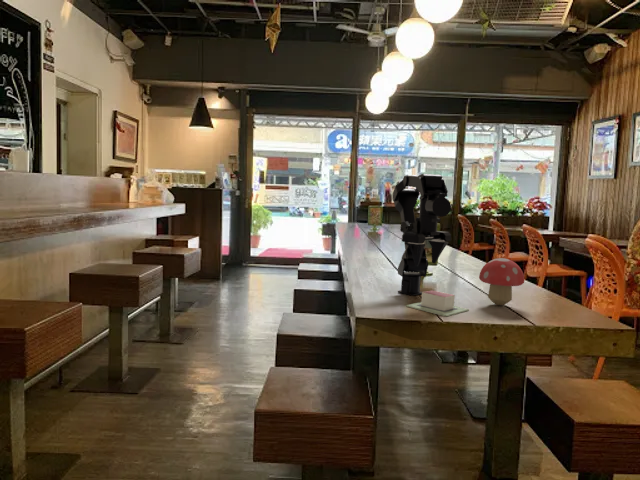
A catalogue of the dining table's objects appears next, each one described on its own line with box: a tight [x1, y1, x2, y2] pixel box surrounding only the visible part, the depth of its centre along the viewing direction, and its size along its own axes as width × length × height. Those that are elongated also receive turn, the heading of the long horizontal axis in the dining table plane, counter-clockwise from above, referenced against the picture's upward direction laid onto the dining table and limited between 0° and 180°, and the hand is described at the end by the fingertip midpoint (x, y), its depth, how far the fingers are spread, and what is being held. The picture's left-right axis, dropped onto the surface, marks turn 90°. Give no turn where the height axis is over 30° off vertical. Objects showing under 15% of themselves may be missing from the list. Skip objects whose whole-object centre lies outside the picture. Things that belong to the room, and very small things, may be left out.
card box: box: [420, 289, 456, 311], centre depth 149 cm, size 8×5×4 cm, turn 44°
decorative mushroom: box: [478, 257, 525, 306], centre depth 157 cm, size 13×13×15 cm
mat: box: [406, 301, 470, 317], centre depth 149 cm, size 12×14×1 cm
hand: (425, 264), depth 157 cm, fingers open, 9 cm apart
